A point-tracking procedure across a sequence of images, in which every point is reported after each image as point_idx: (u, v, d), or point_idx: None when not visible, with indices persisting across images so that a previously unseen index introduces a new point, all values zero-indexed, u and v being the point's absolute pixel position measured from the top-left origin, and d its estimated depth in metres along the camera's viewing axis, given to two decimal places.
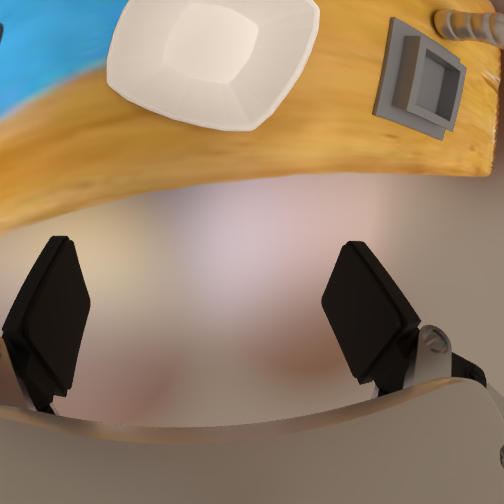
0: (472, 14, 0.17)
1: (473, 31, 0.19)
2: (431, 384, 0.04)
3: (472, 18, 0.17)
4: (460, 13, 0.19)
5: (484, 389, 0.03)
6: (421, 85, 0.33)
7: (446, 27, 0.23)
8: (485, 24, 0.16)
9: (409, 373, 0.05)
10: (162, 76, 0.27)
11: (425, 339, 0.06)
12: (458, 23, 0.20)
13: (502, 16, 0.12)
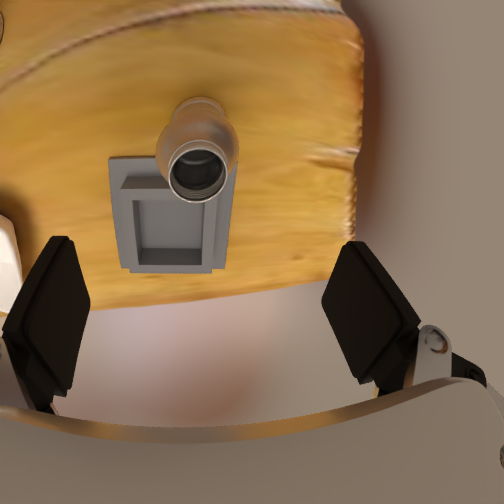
0: None
1: None
2: (431, 383, 0.04)
3: None
4: (179, 115, 0.25)
5: (484, 389, 0.03)
6: (167, 223, 0.38)
7: None
8: None
9: (409, 373, 0.05)
10: None
11: (425, 339, 0.06)
12: None
13: (169, 132, 0.18)
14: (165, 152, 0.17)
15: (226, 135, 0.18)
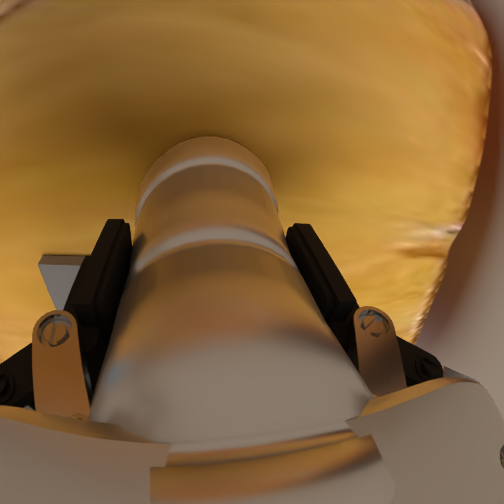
0: (127, 291, 0.06)
1: None
2: (431, 383, 0.04)
3: None
4: (147, 222, 0.08)
5: (484, 389, 0.03)
6: None
7: None
8: None
9: None
10: None
11: (362, 323, 0.06)
12: None
13: None
14: None
15: None
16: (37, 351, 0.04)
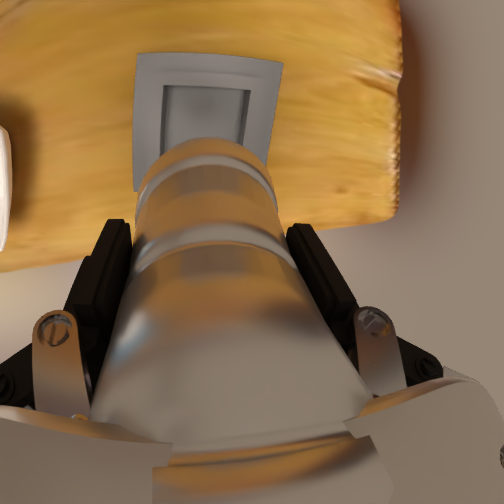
0: None
1: None
2: (431, 384, 0.04)
3: None
4: None
5: (484, 389, 0.03)
6: (198, 130, 0.30)
7: None
8: None
9: None
10: None
11: (362, 323, 0.06)
12: None
13: None
14: None
15: None
16: (37, 351, 0.04)
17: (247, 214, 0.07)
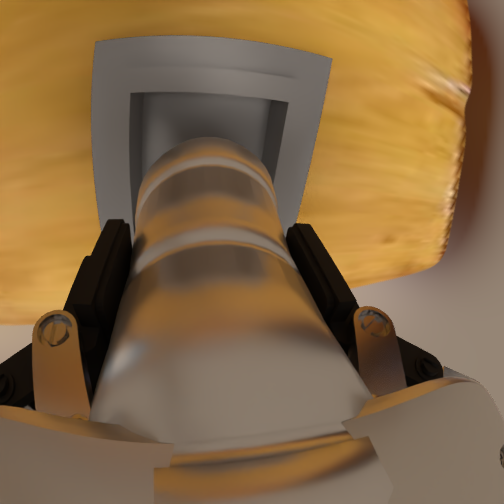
0: None
1: None
2: (432, 384, 0.04)
3: None
4: (147, 222, 0.08)
5: (484, 389, 0.03)
6: None
7: None
8: None
9: None
10: None
11: (362, 323, 0.06)
12: None
13: None
14: None
15: None
16: (37, 351, 0.04)
17: (247, 214, 0.07)
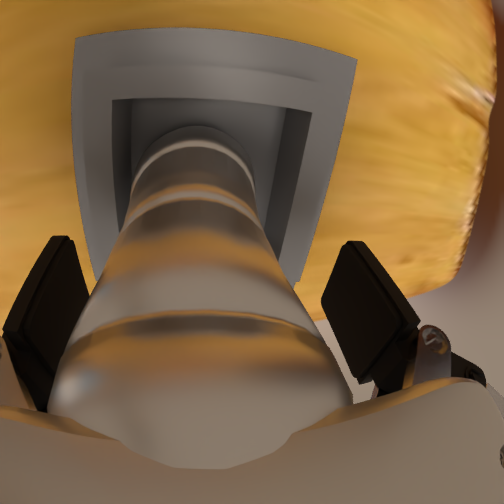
0: (117, 243, 0.08)
1: None
2: (431, 383, 0.04)
3: None
4: (138, 193, 0.10)
5: (484, 389, 0.03)
6: None
7: None
8: None
9: (409, 373, 0.05)
10: None
11: (425, 339, 0.06)
12: None
13: None
14: None
15: None
16: None
17: (219, 182, 0.09)
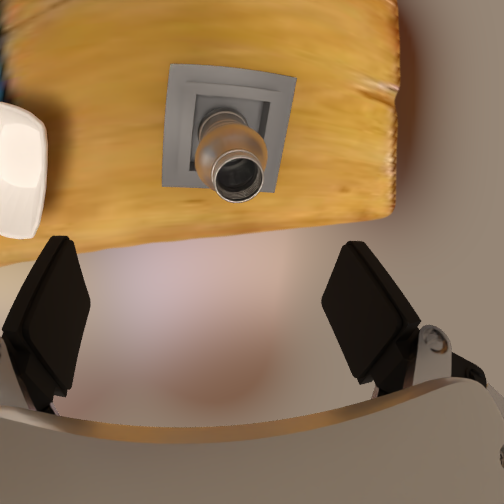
0: (206, 132, 0.26)
1: None
2: (431, 383, 0.04)
3: None
4: (208, 124, 0.28)
5: (484, 389, 0.03)
6: None
7: None
8: None
9: (409, 373, 0.05)
10: None
11: (425, 339, 0.06)
12: None
13: (209, 141, 0.21)
14: (206, 158, 0.21)
15: (259, 146, 0.22)
16: None
17: (236, 120, 0.28)
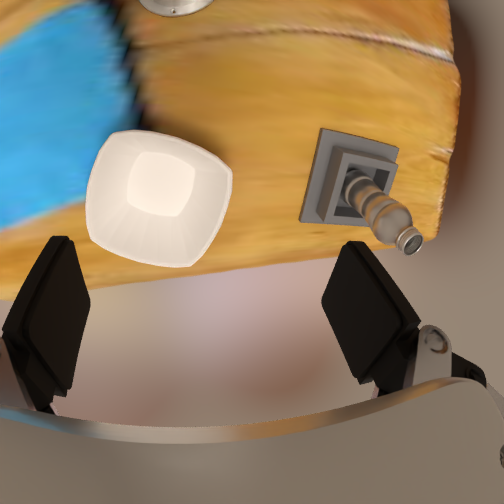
0: (367, 198, 0.39)
1: (364, 216, 0.41)
2: (431, 383, 0.04)
3: (364, 205, 0.40)
4: (360, 189, 0.41)
5: (484, 389, 0.03)
6: None
7: (345, 200, 0.46)
8: (370, 221, 0.38)
9: (409, 373, 0.05)
10: (128, 219, 0.43)
11: (425, 339, 0.06)
12: (354, 202, 0.43)
13: (390, 216, 0.34)
14: (390, 227, 0.34)
15: None
16: None
17: (379, 188, 0.41)
